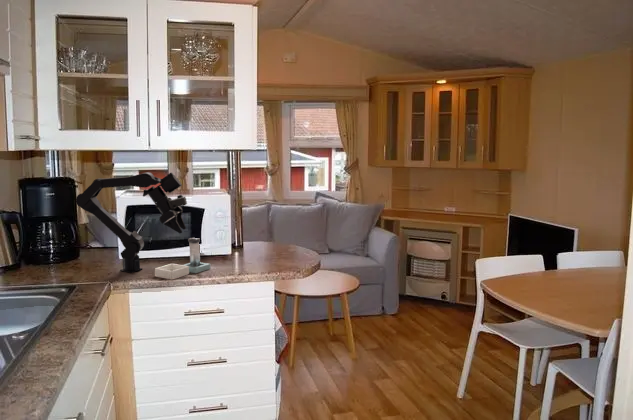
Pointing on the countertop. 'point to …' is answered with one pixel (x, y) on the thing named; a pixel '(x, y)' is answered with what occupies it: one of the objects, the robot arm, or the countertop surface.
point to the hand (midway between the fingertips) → (183, 230)
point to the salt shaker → (194, 252)
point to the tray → (171, 271)
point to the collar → (198, 269)
